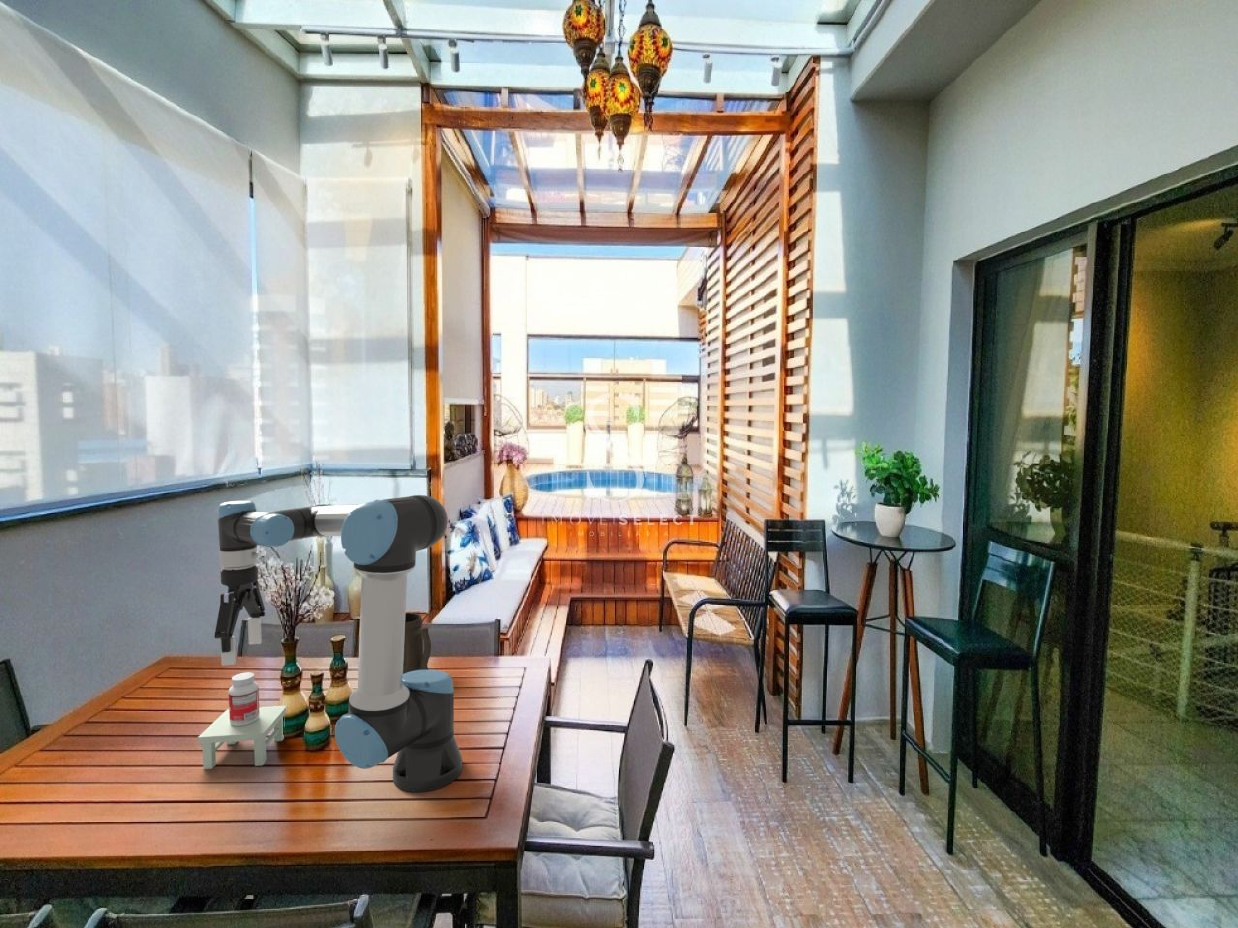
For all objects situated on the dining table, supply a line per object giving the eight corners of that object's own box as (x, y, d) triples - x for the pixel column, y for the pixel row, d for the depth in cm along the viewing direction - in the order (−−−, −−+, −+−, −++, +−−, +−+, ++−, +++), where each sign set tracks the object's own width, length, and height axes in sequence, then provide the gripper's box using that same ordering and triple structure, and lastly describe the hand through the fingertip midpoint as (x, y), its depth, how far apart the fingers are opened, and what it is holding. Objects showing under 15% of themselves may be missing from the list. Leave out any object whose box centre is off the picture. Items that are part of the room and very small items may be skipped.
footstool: (264, 766, 142) (263, 732, 141) (199, 770, 140) (197, 737, 139) (288, 735, 156) (287, 705, 155) (228, 739, 154) (227, 708, 153)
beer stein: (378, 683, 187) (380, 619, 186) (400, 669, 198) (402, 609, 196) (421, 693, 183) (424, 628, 181) (441, 678, 193) (444, 617, 191)
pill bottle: (238, 715, 150) (236, 671, 149) (264, 714, 151) (262, 670, 150) (224, 727, 144) (222, 681, 143) (251, 726, 144) (250, 680, 144)
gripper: (230, 578, 133) (234, 673, 134) (277, 554, 158) (280, 635, 159) (193, 579, 132) (197, 675, 133) (246, 555, 157) (249, 636, 158)
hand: (242, 653), depth 146 cm, fingers open, 13 cm apart
